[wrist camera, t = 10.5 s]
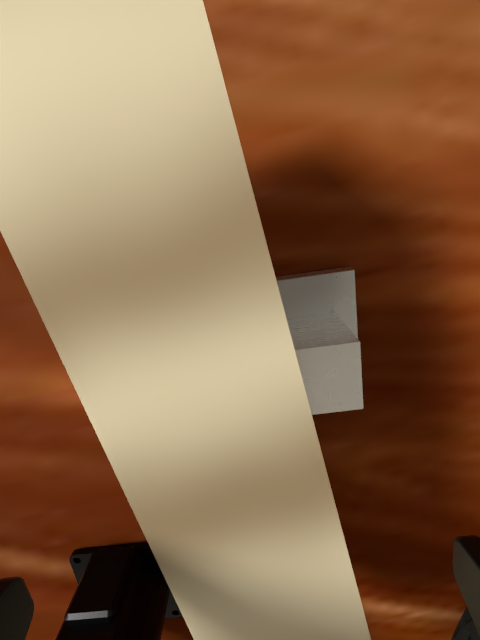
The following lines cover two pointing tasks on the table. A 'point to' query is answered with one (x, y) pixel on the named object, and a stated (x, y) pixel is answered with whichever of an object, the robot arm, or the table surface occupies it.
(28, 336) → the table surface
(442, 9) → the table surface
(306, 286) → the ridge
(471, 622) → the decorative element
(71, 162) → the maple beam
